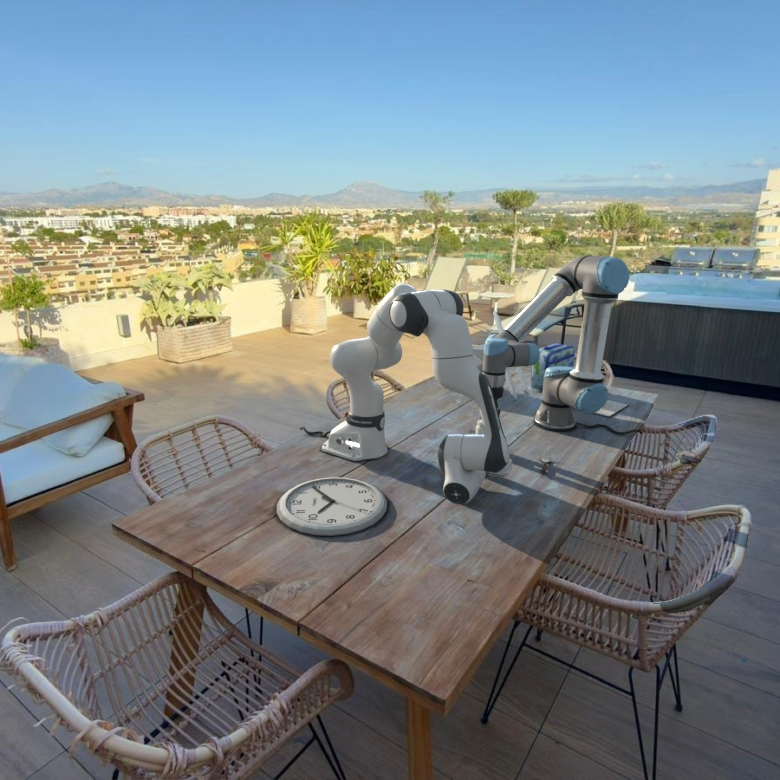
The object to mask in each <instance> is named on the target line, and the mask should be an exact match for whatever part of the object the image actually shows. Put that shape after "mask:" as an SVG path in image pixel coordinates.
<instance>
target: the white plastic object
mask: <svg viewBox="0 0 780 780" xmlns="http://www.w3.org/2000/svg"><path fill="white" fill-rule="evenodd" d="M492 315H493V319H494V321H495V324H496V325H495V326H496V328H497V332H498V334H499V333H500V332H501V331H503V330H504V328H503V325H502V321H501V318H500V315H499V314H498V312H497V311H496V310H495V311H492ZM484 346H485V343H483V344H479V345H473V346H472V348H473V357H474V362H475V364H476V366H477V368H478V370H479V371H480V372H481V373H482V370H483V356H484V354H483V351H484ZM509 368H510V367H506V371H505V381H506V383H507V386H508V390H509V393H510V394H511V395H512V397H513V398H514V399H515V400H517V392H516V391H517V390H516V388H515V385H514V381H513V378H512V375H511V371H510V369H509ZM522 368H523V367H522V366H520V367H515V369H516V372H517V376H518V380H519V382H520V385H521V389H522V391H523V393H524V395H525V396H526V397H528V396H531V395H530V390H529V388H528V387H529V386H528V384H527V381H526V378H525V375H524V371H523V369H522Z"/></svg>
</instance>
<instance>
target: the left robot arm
mask: <svg viewBox="0 0 780 780" xmlns="http://www.w3.org/2000/svg"><path fill="white" fill-rule="evenodd" d="M464 309H465V308H464V303H463V299H462V297H461V296H460V295H459V294H458V293H457V292H455V291H453V290H449V289H425V290H417V289H416V288H415V287H414V286H412V285H410V284H408V283H399V284H396V285H394V287H393V288H392V289H390V290H389V291H388V292H387V294H385V296H384V297H383V298H382V299H381V301H379V304H377V307H376V308H375V310H374V312H372V315H371V316H370V317H369V319H368V321H367V323H366V331H367V335H368V336H366V337H361V338H354V339H348V340H345V341H341V342H339V343H337V344H335V345H333V347H332V348H331V350H330V354H329V362H330V365H331V367H332V369H333V370H334V372H335V373H336V374H338V375H340V376H341V377H342V378H343V379H344V381H345V383H346V385H347V387H348V393H349V409H348V410H346V411H345V413H343V414H342V415H343V416H342V418H345V419H344V420H343V421H341V422H340V423H339V424H337V425H336V426H335V427H333V428H332V429H330V430H327V431H325V433H324V432H323V431H320V430H318V431H317V430H316V431H308V429H307V428H306V427H305V426H301V427H299V430H301V431H304V433H306V434H308V435H318V434H319V435H321V436H322V437H327V435H328V439H327V440H325V442H323V443H322V445H321V451H322V452H324V453H327V454H330V455H334V456H336V457H340V458H343V459H346V460H349V461H352V462H360V461H363V460H371V459H378V458H381V457H383V456H385V455H386V454H388V451H389V449H388V445H387V443H386V442H387V441H386V437H385V423H386V418H385V417H386V415H385V413H386V412H385V410H384V395H385V394H384V389H383V388H382V385H380V384H379V383H377V382H375V381H373V380H372V372H376V371H381V370H386V369H389V368H391V367H393V366H396V365H397V364H399V363H400V361H401V360H402V357H403V346H402V344H401V343H400V340H401V339H402V337H403V336H404V335H405V334H410V335H412V336H414V337H416V338H417V337H420V336H421V335H425V337H426V338H427V339H428V341H429V346H430V358H431V359H430V360H431V368H432V373H433V377H434V379H435V380H436V381H437V383H439V384H440V385H441V386H442V387H443V388H445V389H447V390H449V391H451V392H454V393H457V394H461V395H463V396H466V397H467V398H469V399H471V400H472V401H474V403H475V404H476V405H477V407H478V410H479V414H480V418H482V422H483V426H484V430H485V434H476V433H474V434H473V433H472V434H471V433H470V434H469V433H468V434H467V433H451V434H450V433H448V434H447V435H446V436H444V438H443V439H442V441H441V442H440V444H439V447H438V450H437V462H438V465H439V467H440V468H439V469H440V470H441V472H442V475H444V481H443V482H444V483H443V487H442V490H443V496H444V497H445V499H447V500H448V501H449V502H451V503H452V504H456V505H466V504H467V503H469V502H471V501H472V500H473V498H474V497H476V495H477V493H478V491H479V489H480V488H481V485H483V482H484V480H485V479H486V477H487V476H489V477H494V478H505V477H507V476H509V474H510V472H511V471H512V465H513V460H512V458H510V448H509V445H508V441H507V439H506V436H505V432H504V430H503V426H502V423H501V418H500V415H499V414H498V410H497V407H496V403H495V399H494V395H493V392H492V388H491V385H490V382H489V380H488V378H487V376H486V375H484V374H482V373H481V372H480V371H479V370H478V368H477V366H476V364H475V362H474V357H473V348H472V347H473V342H472V337H471V332H470V328H469V325H468V321H467V319H465V317H464V316H463V315H464Z"/></svg>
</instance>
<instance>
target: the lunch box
mask: <svg viewBox="0 0 780 780" xmlns="http://www.w3.org/2000/svg"><path fill="white" fill-rule="evenodd" d="M539 350H540V359H539V361H538V363H537V364H535V365H531V371H530V372H531V374H530V387H531V389H533V390H539V391H543V381H544V374H545V370H546V369H547V368H549V367H556V366H565V367H574V366H575V365H574V363H575V352H576V351H575V346H573V345H568V344H562V343H553V344H550V345H547V346H546V345H545V346H544V347H541V348H539Z"/></svg>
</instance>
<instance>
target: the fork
mask: <svg viewBox="0 0 780 780" xmlns="http://www.w3.org/2000/svg"><path fill="white" fill-rule="evenodd" d="M547 453H549V454H547ZM547 453H545V452H542V458H541V461H542V462H543V465H542V476H544V475H545V472H546V471H547V463H550V462H551V455H552V454H551V453H552V452H551V451H550V452H549V451H548V452H547Z"/></svg>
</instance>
